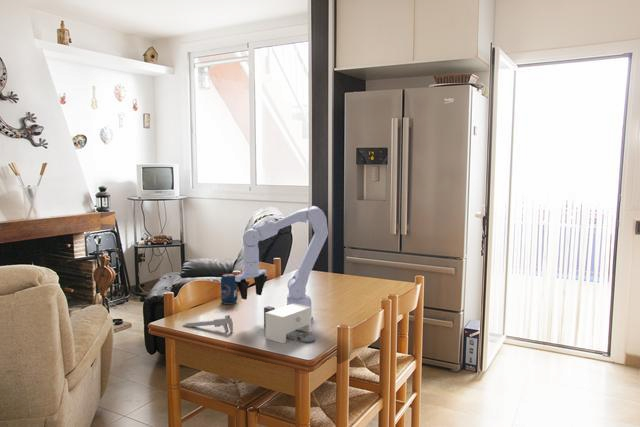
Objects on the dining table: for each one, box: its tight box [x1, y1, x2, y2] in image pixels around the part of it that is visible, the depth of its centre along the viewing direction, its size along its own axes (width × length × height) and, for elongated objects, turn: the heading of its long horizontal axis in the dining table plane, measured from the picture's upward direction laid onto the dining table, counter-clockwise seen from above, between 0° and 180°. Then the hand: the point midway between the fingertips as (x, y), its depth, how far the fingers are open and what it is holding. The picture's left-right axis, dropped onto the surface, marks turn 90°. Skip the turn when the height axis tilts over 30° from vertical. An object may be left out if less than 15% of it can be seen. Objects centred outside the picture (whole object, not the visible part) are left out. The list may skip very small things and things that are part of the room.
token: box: [298, 333, 315, 344], centre depth 167 cm, size 5×5×2 cm
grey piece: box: [263, 305, 306, 342], centre depth 173 cm, size 5×16×8 cm, turn 52°
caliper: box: [182, 314, 234, 333], centre depth 178 cm, size 20×1×6 cm, turn 71°
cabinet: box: [265, 303, 312, 344], centre depth 172 cm, size 15×9×9 cm, turn 142°
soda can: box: [220, 272, 238, 305], centre depth 212 cm, size 7×7×12 cm
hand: (251, 296), depth 186 cm, fingers open, 7 cm apart
